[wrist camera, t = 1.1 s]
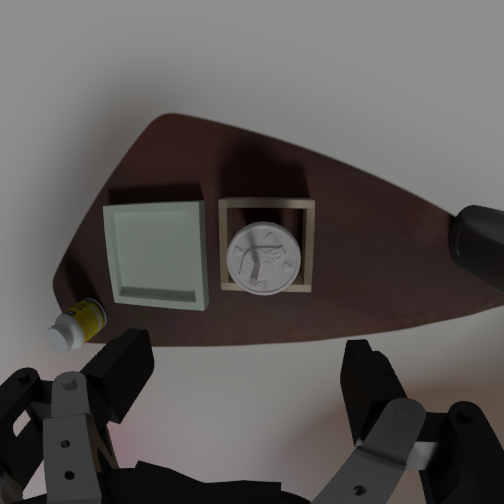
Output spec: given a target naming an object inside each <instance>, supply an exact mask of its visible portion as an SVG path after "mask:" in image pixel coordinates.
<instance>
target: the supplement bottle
mask: <svg viewBox="0 0 504 504" xmlns="http://www.w3.org/2000/svg"><path fill="white" fill-rule="evenodd" d="M105 324H106V313H105V311H104V309H103V307H102V306H101V304H100V303H99V302H97V301H96V300H95V299H92V298H86V299H84V300H82V301H80V302H79V303H77V304H76V305H74V306H73V307H71V308H70V309H68V310H67V311H65V312H64V313H62V314H61V315H59V316H58V317H57V319H56V322H55V325H53V326H52V327H51V328H49V330H48V333H47V334H48V339H49V341H50V343H51V345H52V346H53V347H54V349H55V350H57V351H58V352H60V353H63V354H64V353H67V352H68V351H69V350H70V349H71V348H73V349H77V348H80V347H81V346H82V345H83V344H85V343H86V342H87V341H88V340H89V339H90V338H92V337H93V336H94V335H95V334H96V333H97V332H98V331H100V330H101V329H102V328H103V327H104V326H105Z"/></svg>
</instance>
